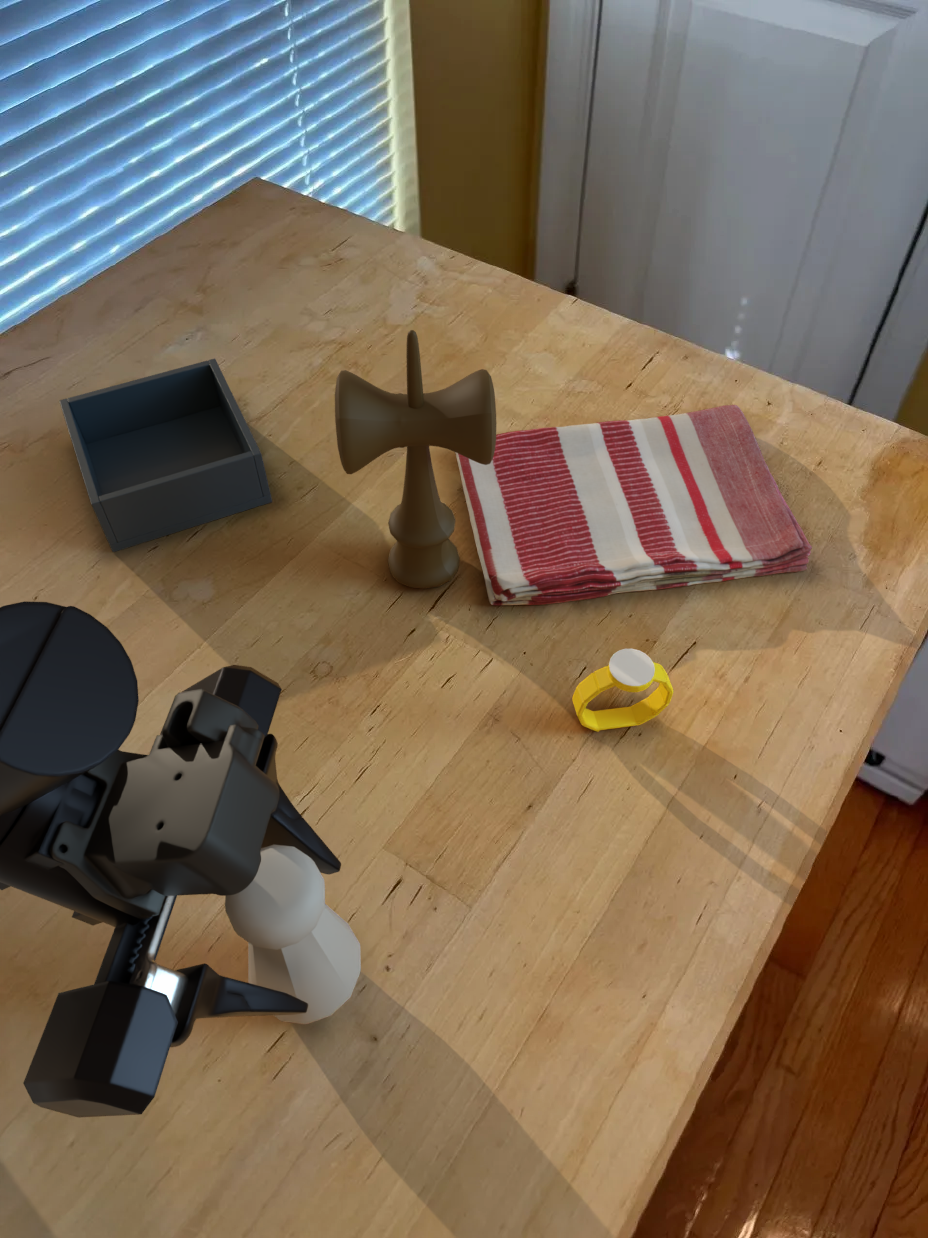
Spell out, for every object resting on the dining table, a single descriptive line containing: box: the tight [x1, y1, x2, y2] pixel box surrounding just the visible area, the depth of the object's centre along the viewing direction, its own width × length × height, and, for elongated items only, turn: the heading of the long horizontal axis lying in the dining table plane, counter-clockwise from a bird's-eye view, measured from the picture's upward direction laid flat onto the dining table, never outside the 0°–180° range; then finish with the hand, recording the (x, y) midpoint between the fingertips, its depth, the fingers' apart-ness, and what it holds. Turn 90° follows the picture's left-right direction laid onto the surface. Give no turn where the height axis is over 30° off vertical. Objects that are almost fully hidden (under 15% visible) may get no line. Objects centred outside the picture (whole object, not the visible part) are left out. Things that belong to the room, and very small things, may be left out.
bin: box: [59, 357, 273, 553], centre depth 72 cm, size 12×12×5 cm
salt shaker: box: [224, 845, 362, 1025], centre depth 45 cm, size 6×6×13 cm
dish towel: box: [454, 404, 813, 606], centre depth 70 cm, size 17×23×3 cm
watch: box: [571, 648, 674, 733], centre depth 58 cm, size 6×3×6 cm, turn 101°
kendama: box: [334, 329, 497, 589], centre depth 60 cm, size 6×10×20 cm, turn 93°
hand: (319, 936), depth 44 cm, fingers open, 6 cm apart
